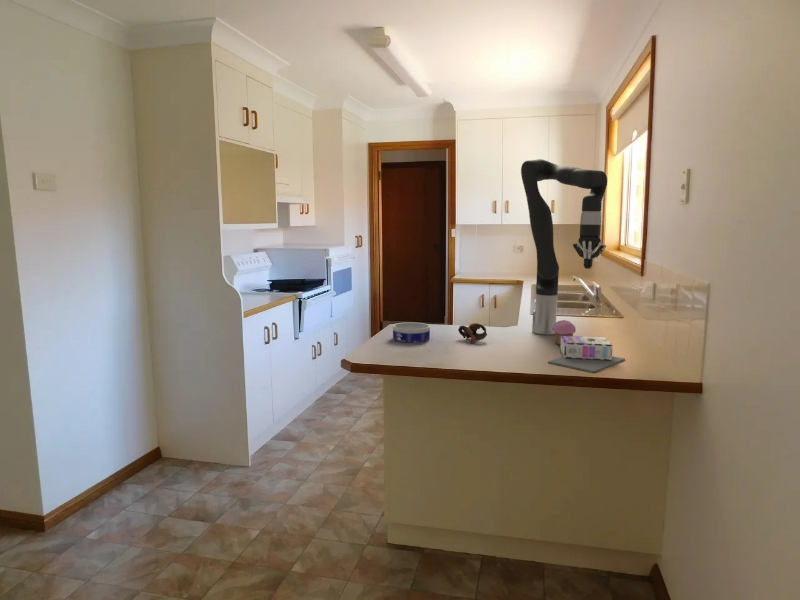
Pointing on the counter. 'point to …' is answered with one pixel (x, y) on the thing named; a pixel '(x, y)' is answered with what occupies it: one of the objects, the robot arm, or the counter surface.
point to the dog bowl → (411, 332)
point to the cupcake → (563, 330)
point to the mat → (586, 363)
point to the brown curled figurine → (472, 332)
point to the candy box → (586, 347)
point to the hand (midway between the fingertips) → (587, 268)
